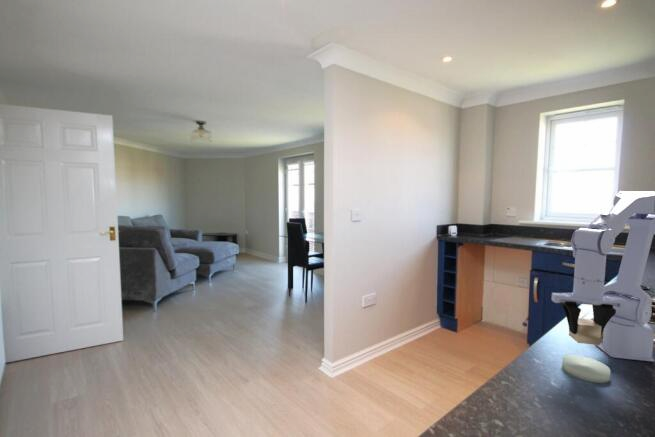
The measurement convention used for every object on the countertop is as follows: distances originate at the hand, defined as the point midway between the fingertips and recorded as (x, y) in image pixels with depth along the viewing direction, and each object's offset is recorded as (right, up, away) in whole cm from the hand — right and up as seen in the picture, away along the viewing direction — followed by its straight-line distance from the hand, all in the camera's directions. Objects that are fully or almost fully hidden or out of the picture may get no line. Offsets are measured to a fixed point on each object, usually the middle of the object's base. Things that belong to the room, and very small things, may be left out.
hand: (584, 333), depth 79 cm
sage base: (-1, -9, -1) cm, 9 cm away
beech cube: (0, -2, 0) cm, 2 cm away
